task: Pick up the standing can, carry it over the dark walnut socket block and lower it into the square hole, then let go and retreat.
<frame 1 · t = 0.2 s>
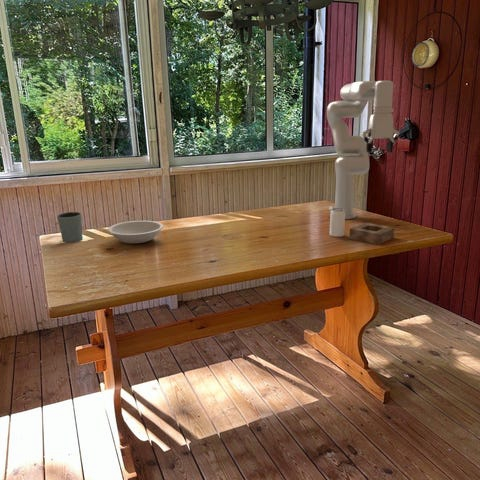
hand: (379, 152, 196), 37 cm above the table, tool pointing down, fingers open, 9 cm apart
soup bowl: (137, 241, 199), on the table
can: (336, 235, 204), on the table
socket block: (371, 238, 199), on the table
grey green cup: (72, 240, 203), on the table
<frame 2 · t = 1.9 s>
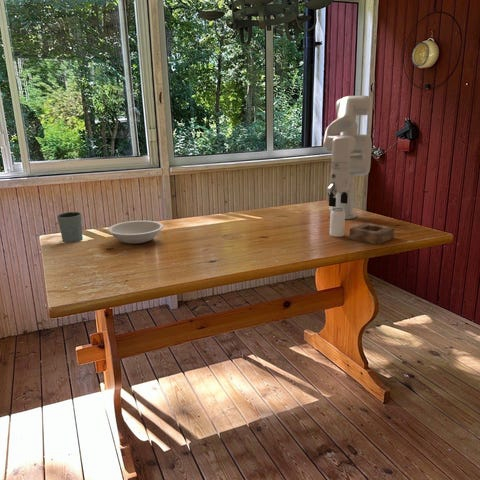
hand: (338, 204, 199), 14 cm above the table, tool pointing down, fingers open, 9 cm apart
nothing on the table moved.
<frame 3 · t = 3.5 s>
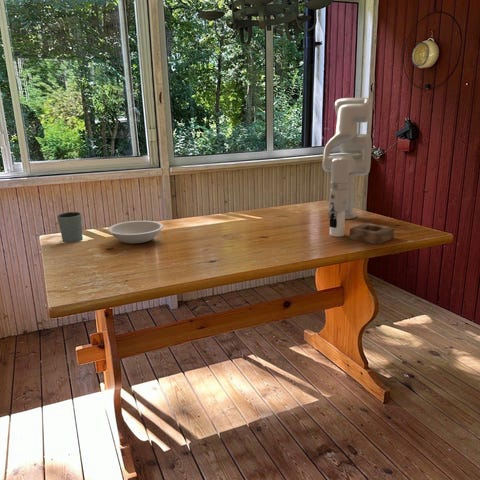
hand: (337, 225, 203), 5 cm above the table, tool pointing down, fingers closed on can, 6 cm apart
can: (336, 235, 204), on the table, touching gripper
everything else where it was.
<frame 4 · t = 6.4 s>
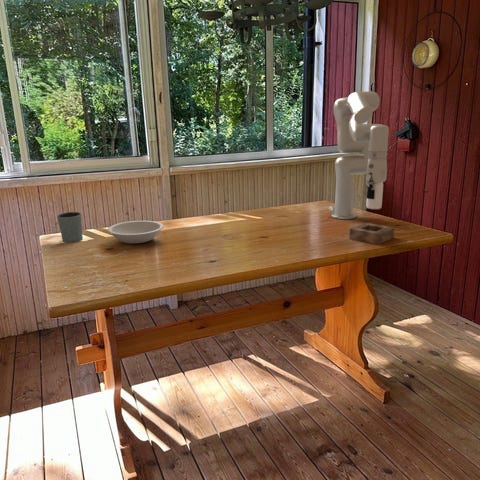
hand: (374, 197, 194), 18 cm above the table, tool pointing down, fingers closed on can, 6 cm apart
can: (373, 208, 195), point 13 cm above the table, touching gripper
everything else where it was.
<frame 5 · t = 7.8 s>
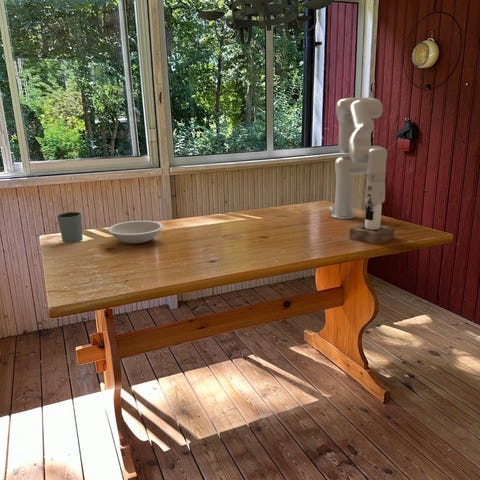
hand: (373, 217, 196), 9 cm above the table, tool pointing down, fingers closed on can, 6 cm apart
can: (372, 228, 198), point 4 cm above the table, touching gripper
everything else where it was.
when the fingers open (7 cm above the table, at t = 9.2 s): can drops 2 cm, resting on socket block.
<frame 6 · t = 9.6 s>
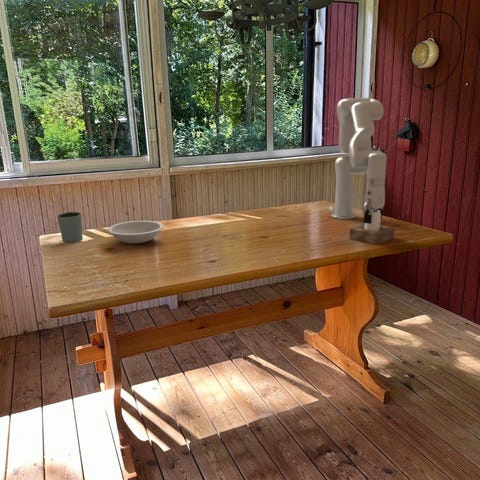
hand: (372, 220, 197), 8 cm above the table, tool pointing down, fingers open, 9 cm apart
can: (371, 237, 199), resting on socket block
everything else where it was.
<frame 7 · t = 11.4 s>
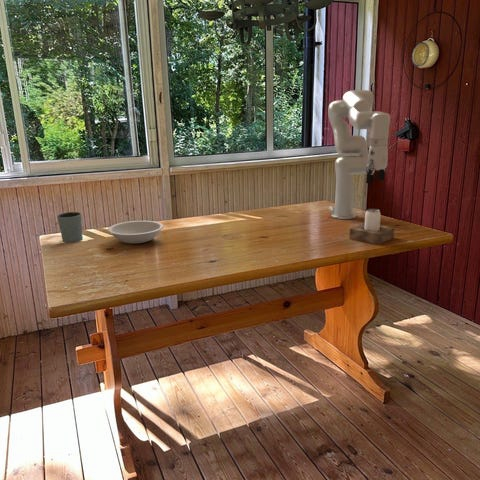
hand: (375, 181, 199), 24 cm above the table, tool pointing down, fingers open, 9 cm apart
nothing on the table moved.
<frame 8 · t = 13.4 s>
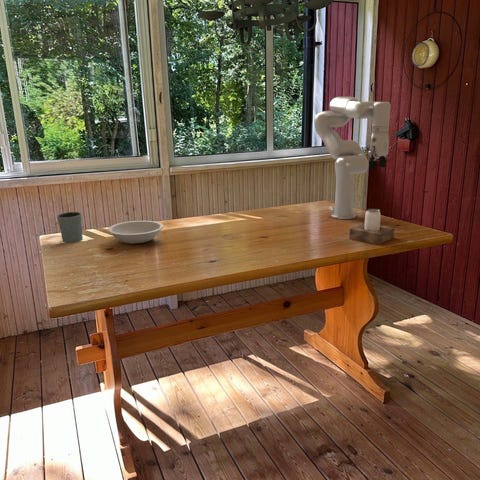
hand: (377, 168, 208), 28 cm above the table, tool pointing down, fingers open, 9 cm apart
nothing on the table moved.
at the end: can 0.2 cm off-centre on the socket block, point 0.3 cm above the socket block's base; can tilted 0°; the gripper is holding nothing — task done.
